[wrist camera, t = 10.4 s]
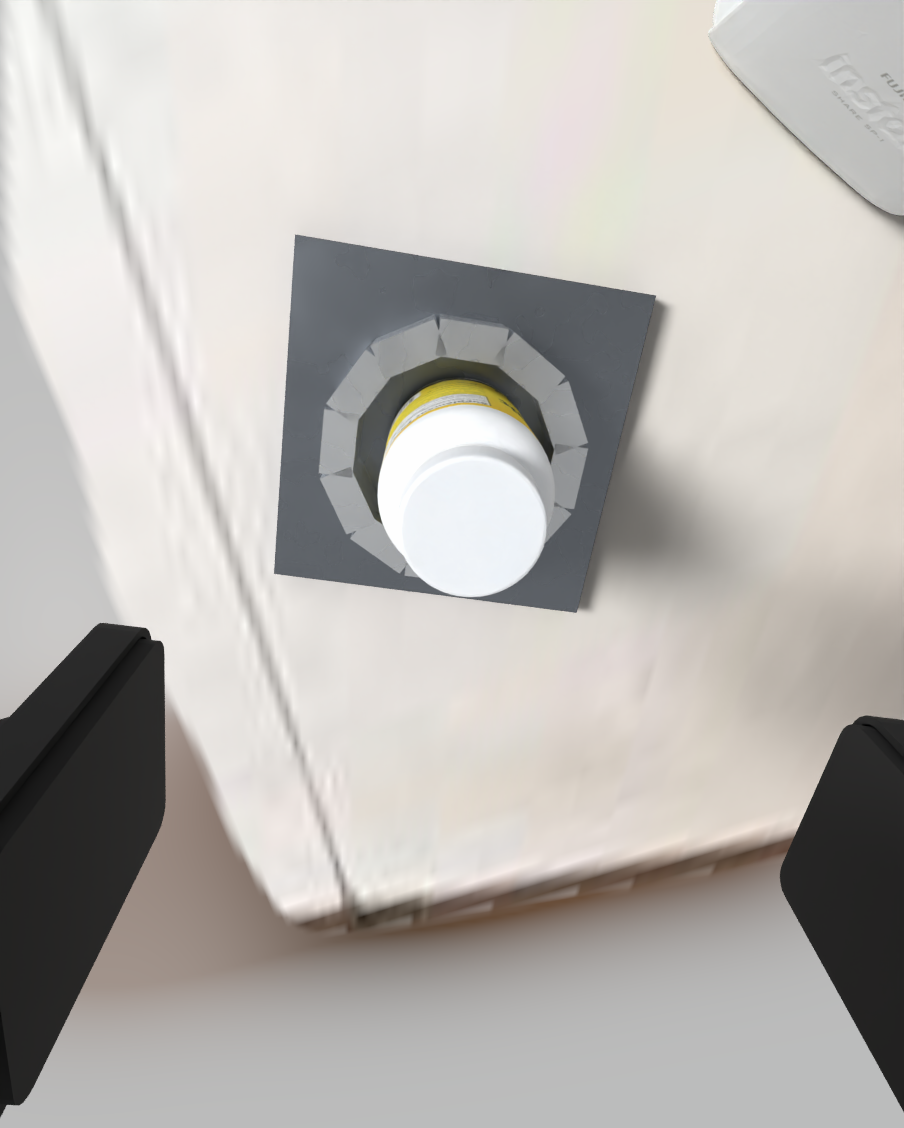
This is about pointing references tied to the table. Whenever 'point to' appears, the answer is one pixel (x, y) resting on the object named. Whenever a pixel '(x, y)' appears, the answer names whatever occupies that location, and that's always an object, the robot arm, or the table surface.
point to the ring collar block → (428, 354)
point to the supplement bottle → (465, 488)
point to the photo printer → (827, 80)
